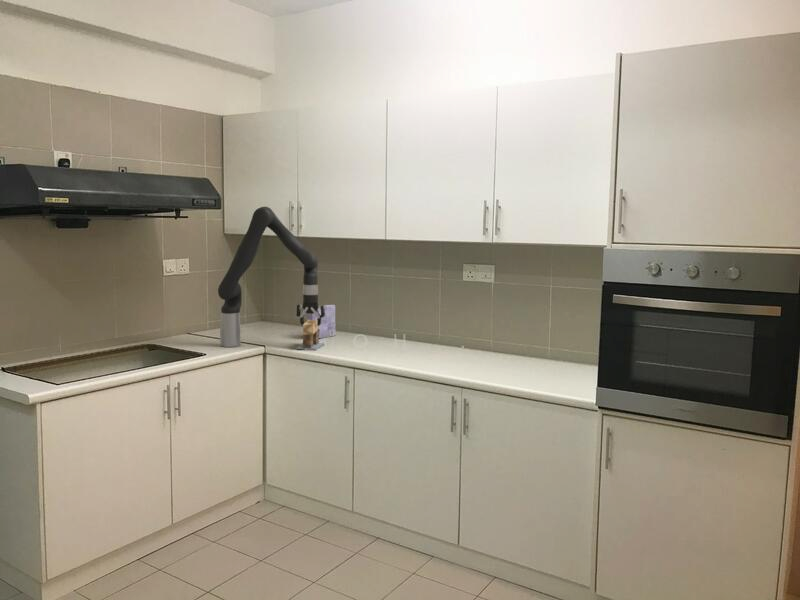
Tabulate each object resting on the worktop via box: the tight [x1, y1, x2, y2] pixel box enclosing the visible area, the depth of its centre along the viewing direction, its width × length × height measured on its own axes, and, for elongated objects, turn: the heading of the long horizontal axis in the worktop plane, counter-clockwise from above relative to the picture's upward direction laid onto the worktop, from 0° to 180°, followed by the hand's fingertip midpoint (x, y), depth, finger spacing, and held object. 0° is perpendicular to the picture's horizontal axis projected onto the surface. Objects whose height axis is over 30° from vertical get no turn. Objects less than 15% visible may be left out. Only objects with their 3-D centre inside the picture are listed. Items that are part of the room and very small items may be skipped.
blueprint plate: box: [296, 342, 326, 351], centre depth 329 cm, size 10×14×1 cm
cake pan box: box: [306, 304, 337, 339], centre depth 356 cm, size 19×5×18 cm, turn 141°
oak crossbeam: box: [302, 319, 318, 336], centre depth 328 cm, size 5×15×5 cm, turn 179°
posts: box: [302, 330, 320, 348], centre depth 329 cm, size 4×13×7 cm, turn 169°
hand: (310, 325), depth 328 cm, fingers open, 8 cm apart
